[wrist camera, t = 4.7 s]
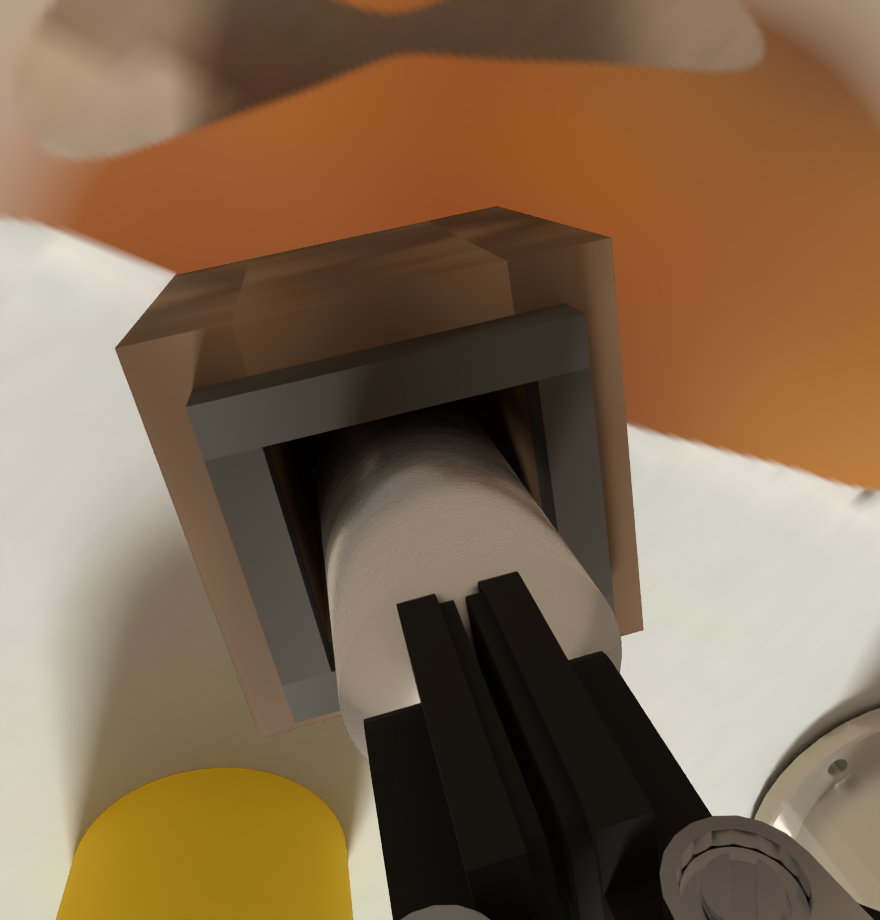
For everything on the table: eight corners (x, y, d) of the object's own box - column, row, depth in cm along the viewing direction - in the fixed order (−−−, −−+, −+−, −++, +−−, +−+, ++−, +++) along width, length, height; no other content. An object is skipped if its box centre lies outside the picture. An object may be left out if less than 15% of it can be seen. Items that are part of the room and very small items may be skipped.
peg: (468, 359, 17) (609, 519, 10) (494, 512, 19) (631, 746, 11) (294, 400, 16) (305, 600, 9) (337, 553, 18) (374, 823, 11)
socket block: (497, 206, 21) (634, 244, 13) (536, 488, 25) (663, 656, 16) (175, 275, 20) (102, 363, 12) (267, 557, 24) (260, 772, 16)
